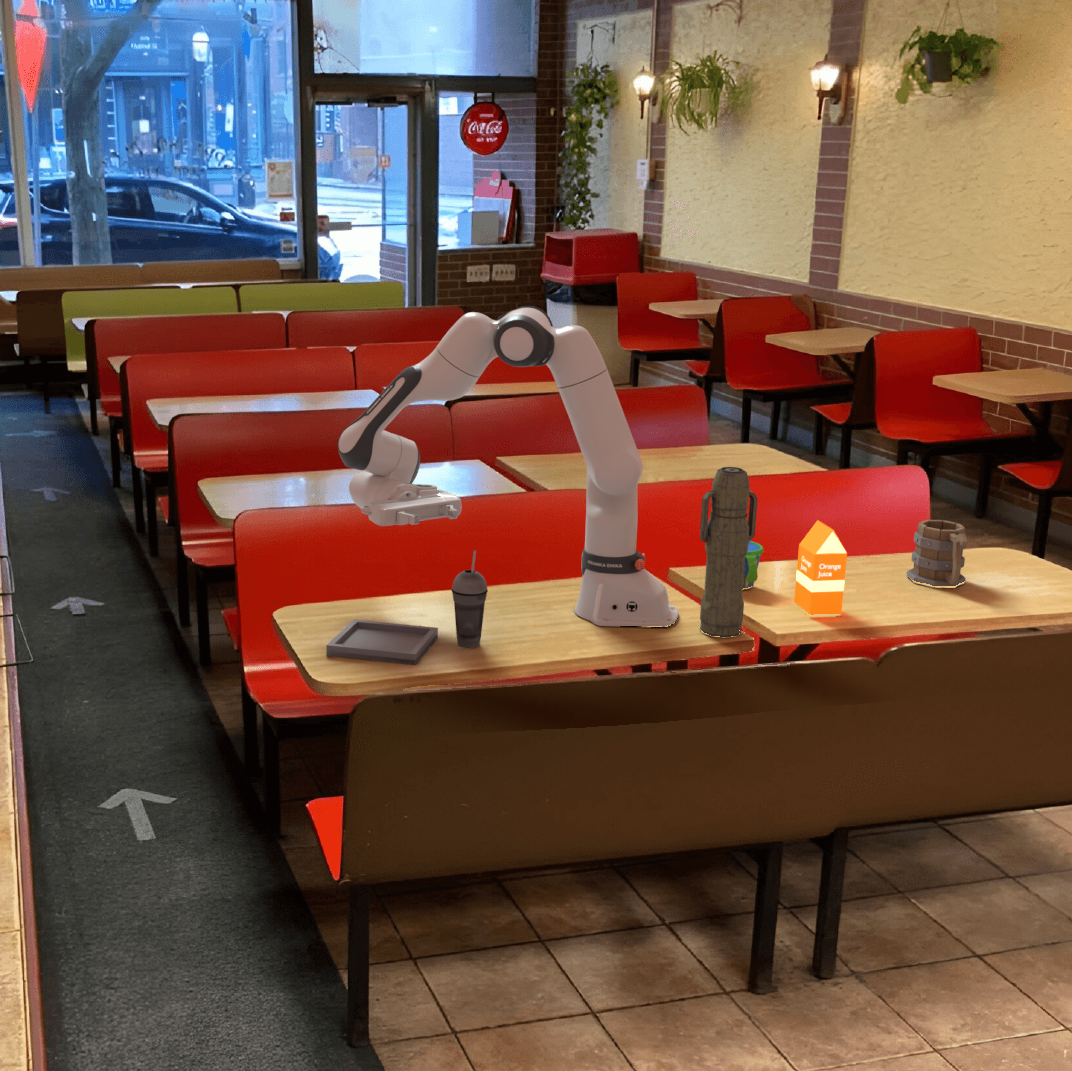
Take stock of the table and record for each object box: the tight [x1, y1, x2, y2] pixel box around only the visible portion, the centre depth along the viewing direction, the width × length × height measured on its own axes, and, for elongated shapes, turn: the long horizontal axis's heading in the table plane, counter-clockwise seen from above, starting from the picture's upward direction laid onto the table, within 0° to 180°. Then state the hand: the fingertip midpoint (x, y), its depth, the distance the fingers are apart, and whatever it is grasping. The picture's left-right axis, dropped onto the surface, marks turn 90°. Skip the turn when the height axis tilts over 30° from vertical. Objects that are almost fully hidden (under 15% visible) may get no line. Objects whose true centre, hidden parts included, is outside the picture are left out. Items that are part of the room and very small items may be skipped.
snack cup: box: [743, 540, 764, 588], centre depth 310 cm, size 16×10×10 cm
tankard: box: [906, 519, 969, 586], centre depth 316 cm, size 20×13×15 cm, turn 3°
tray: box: [325, 619, 439, 666], centre depth 265 cm, size 18×16×2 cm
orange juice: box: [793, 519, 848, 615], centre depth 293 cm, size 8×9×20 cm
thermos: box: [699, 466, 759, 637], centre depth 276 cm, size 9×12×35 cm
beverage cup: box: [451, 549, 489, 649], centre depth 265 cm, size 7×7×20 cm
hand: (436, 517), depth 271 cm, fingers open, 8 cm apart
